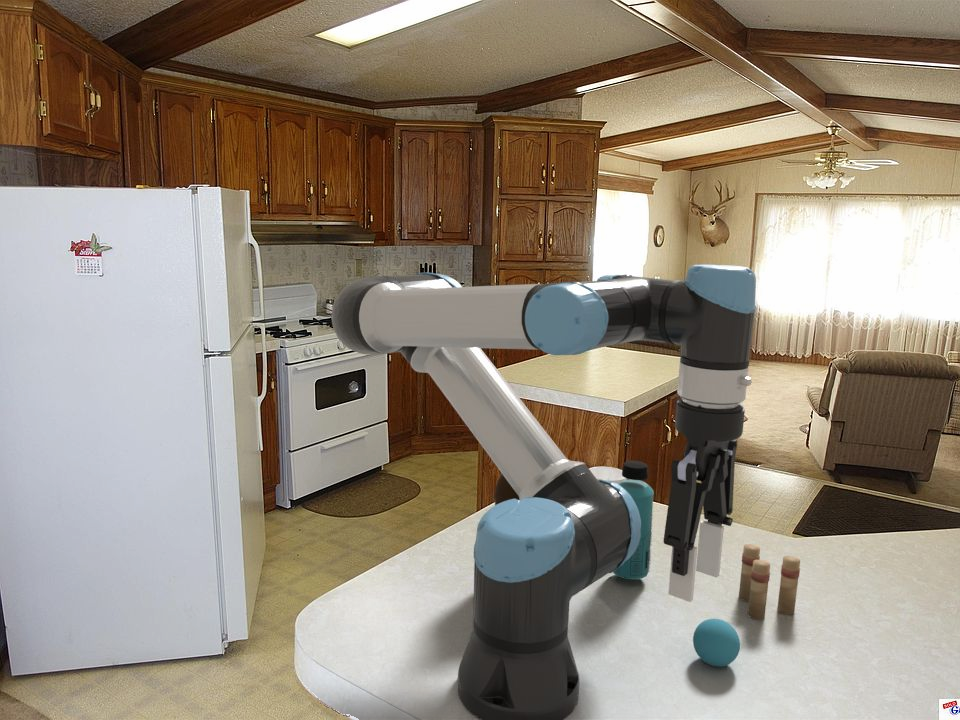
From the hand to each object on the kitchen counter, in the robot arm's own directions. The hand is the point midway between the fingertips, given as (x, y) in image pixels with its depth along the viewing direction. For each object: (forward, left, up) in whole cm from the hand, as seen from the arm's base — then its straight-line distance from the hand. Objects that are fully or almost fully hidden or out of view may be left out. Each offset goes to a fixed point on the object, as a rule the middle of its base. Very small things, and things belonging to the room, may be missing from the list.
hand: (694, 584), depth 89 cm
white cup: (+18, +51, -15) cm, 56 cm away
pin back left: (+24, +18, -15) cm, 34 cm away
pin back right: (+27, +12, -15) cm, 34 cm away
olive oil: (-7, +33, -15) cm, 37 cm away
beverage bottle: (+10, +29, -15) cm, 34 cm away
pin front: (+22, +13, -15) cm, 30 cm away
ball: (+8, +5, -12) cm, 15 cm away
